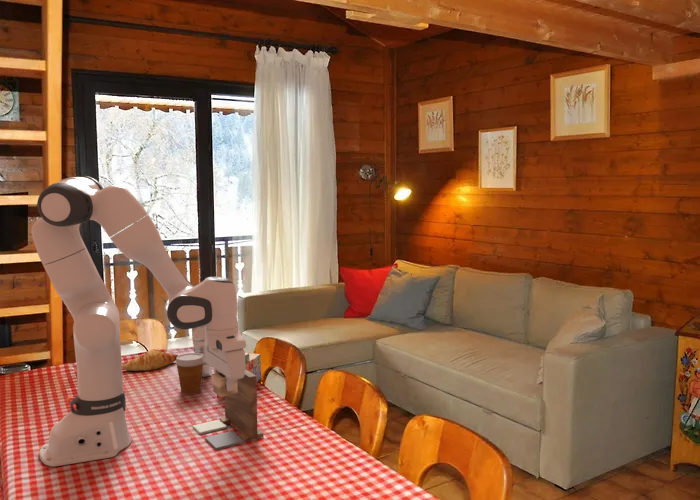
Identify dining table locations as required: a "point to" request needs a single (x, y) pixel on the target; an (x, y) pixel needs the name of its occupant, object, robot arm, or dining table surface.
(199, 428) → the cream rectangular pad
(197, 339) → the plastic bottle
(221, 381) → the marked cube
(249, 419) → the walnut screen
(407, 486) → the dining table surface
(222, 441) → the slate pad
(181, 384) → the disposable coffee cup
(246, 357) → the stack of blocks
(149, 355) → the croissant
